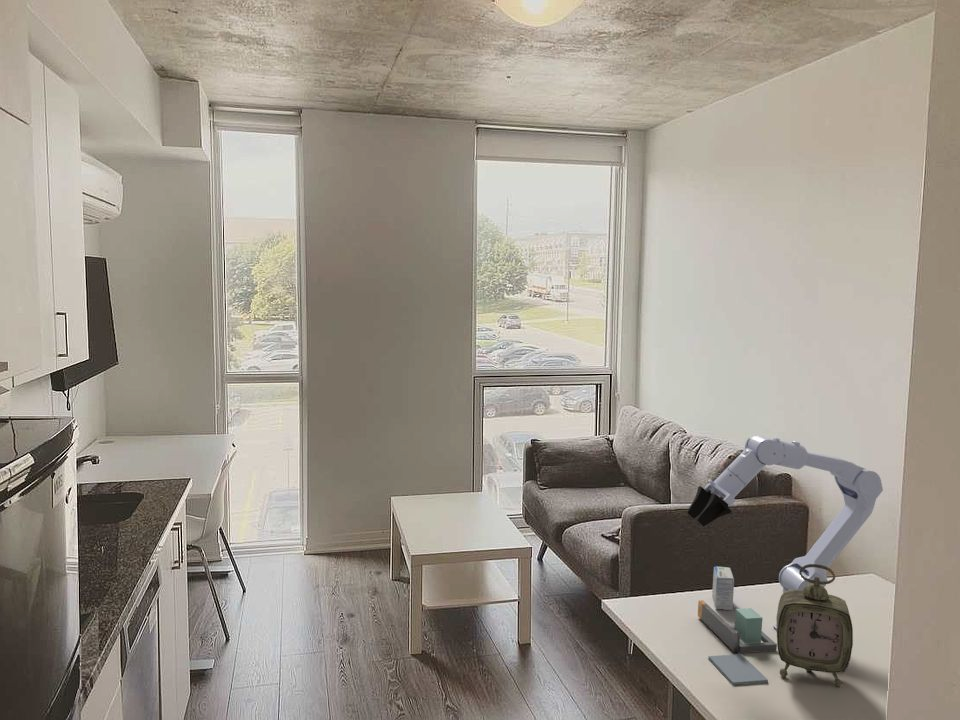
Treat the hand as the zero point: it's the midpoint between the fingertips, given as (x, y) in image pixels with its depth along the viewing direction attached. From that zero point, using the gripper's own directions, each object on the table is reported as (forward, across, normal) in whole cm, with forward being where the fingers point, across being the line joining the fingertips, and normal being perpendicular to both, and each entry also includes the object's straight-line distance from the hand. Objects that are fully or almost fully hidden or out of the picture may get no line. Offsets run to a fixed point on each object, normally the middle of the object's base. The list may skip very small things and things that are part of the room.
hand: (694, 519), depth 175 cm
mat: (+18, +12, +25) cm, 33 cm away
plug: (+12, -1, +30) cm, 32 cm away
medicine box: (+10, -22, +29) cm, 38 cm away
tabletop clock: (+8, +14, +37) cm, 40 cm away
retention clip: (+16, -4, +25) cm, 30 cm away
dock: (+12, -1, +30) cm, 32 cm away
